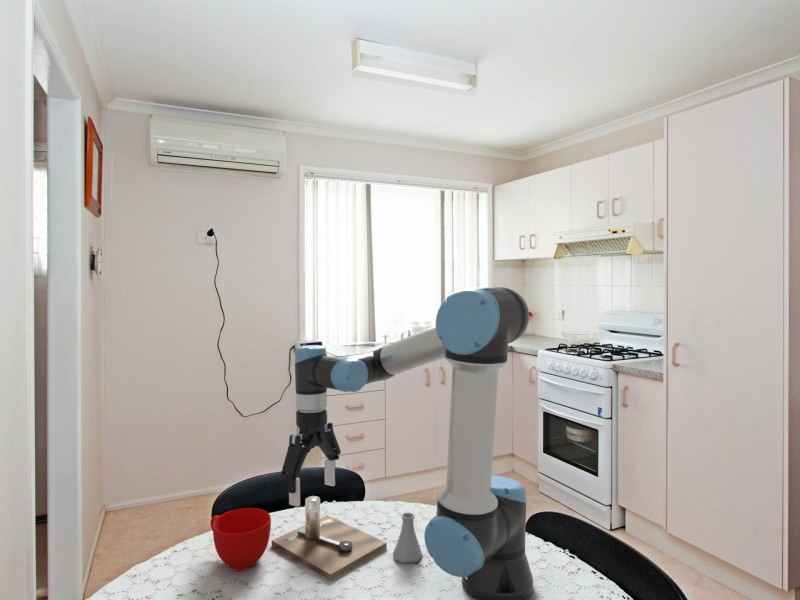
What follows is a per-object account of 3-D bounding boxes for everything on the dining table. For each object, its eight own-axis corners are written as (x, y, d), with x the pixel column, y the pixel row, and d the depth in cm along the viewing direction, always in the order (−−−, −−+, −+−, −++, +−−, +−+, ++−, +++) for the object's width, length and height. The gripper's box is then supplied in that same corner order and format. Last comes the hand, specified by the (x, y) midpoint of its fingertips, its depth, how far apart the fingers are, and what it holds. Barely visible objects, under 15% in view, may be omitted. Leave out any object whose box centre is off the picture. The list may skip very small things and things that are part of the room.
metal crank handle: (355, 547, 124) (355, 507, 124) (346, 554, 121) (346, 513, 121) (303, 530, 133) (303, 492, 132) (294, 536, 129) (293, 497, 129)
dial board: (386, 548, 127) (386, 542, 127) (330, 581, 114) (330, 573, 114) (327, 520, 142) (327, 514, 142) (271, 546, 128) (271, 539, 128)
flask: (420, 566, 120) (420, 523, 119) (389, 562, 121) (389, 520, 121) (425, 549, 127) (425, 509, 126) (396, 546, 128) (396, 507, 128)
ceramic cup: (233, 538, 132) (233, 499, 132) (282, 557, 123) (282, 515, 123) (189, 562, 121) (188, 520, 120) (240, 584, 112) (240, 539, 112)
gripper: (330, 397, 140) (331, 475, 140) (263, 419, 118) (265, 511, 119) (353, 400, 136) (354, 479, 137) (288, 423, 114) (290, 518, 115)
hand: (313, 494), depth 128 cm, fingers open, 13 cm apart
